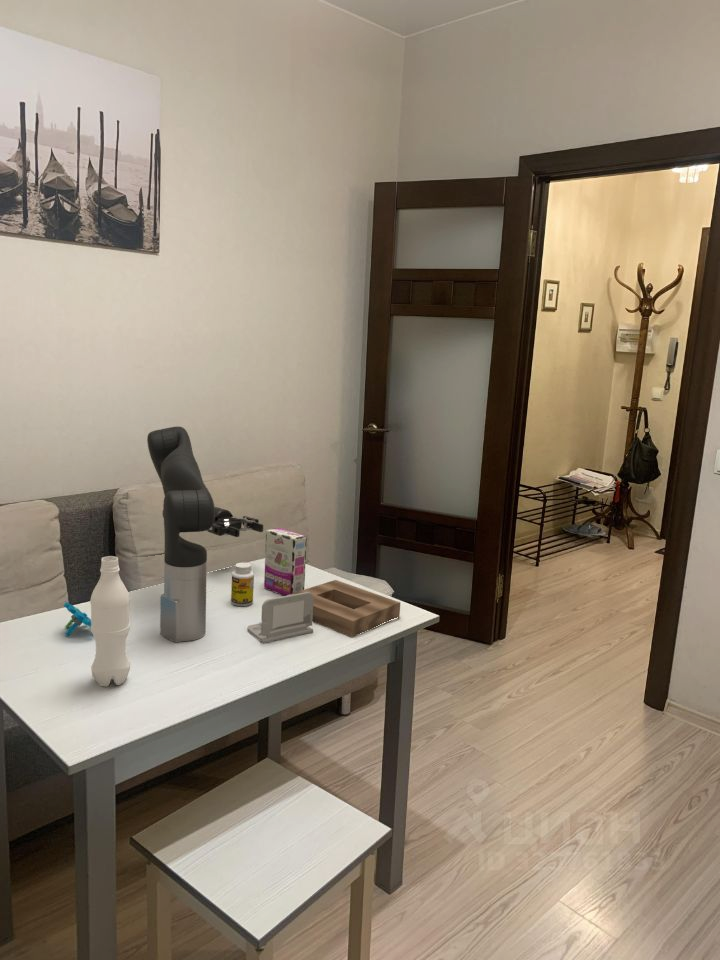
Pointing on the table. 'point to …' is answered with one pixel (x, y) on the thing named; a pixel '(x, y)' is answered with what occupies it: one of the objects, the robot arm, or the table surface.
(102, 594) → the water bottle
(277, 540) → the candy bar box
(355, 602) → the walnut holder block
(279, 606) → the handheld gaming console
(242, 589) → the supplement bottle
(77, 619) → the blue green plastic toy
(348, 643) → the table surface
